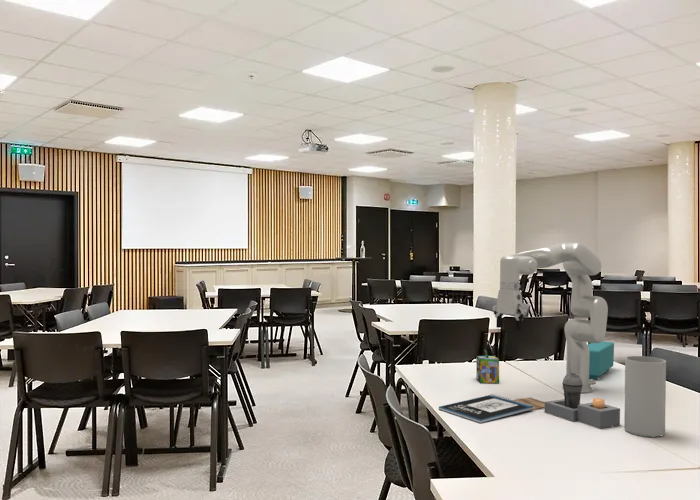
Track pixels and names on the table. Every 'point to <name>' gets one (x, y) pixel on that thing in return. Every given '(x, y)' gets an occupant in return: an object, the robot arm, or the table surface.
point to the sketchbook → (486, 408)
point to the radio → (600, 358)
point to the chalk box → (487, 369)
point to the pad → (532, 403)
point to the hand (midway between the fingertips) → (508, 328)
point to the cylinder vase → (645, 395)
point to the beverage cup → (572, 389)
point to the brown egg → (598, 403)
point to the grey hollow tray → (585, 413)
